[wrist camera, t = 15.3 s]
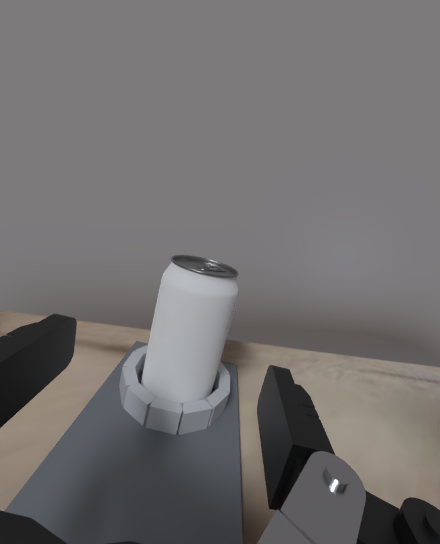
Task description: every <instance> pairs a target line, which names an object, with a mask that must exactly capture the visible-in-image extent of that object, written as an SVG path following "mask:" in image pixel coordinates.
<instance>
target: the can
mask: <svg viewBox="0 0 440 544" xmlns="http://www.w3.org/2000/svg"><path fill="white" fill-rule="evenodd" d="M171 261H172V262H171V264H170V265H169V267H168V268H167V269H166V271H165V272H164V274H163V276H162V280H161V284H160V289H159V293H158V299H157V303H156V308H155V313H154V319H153V323H152V328H151V333H150V338H149V343H148V348H147V353H146V359H145V364H144V369H143V374H142V380H141V385H142V386H143V387H145V388H146V389H147V390H148V391H150V392H151V393H152V394H153V395H155V396H156V397H159V398H163V399H167V400H171V401H175V402H179V403H186V402H192V401H197V400H203V399H206V398H207V397H209V396H210V395H211V391H212V388H213V385H214V381H215V378H216V374H217V370H218V367H219V363H220V360H221V356H222V352H223V349H224V345H225V341H226V338H227V334H228V330H229V326H230V323H231V319H232V316H233V312H234V308H235V304H236V300H237V296H238V286H237V281H236V277H237V276H238V271H237V270H235V269H234V268H232V267H230V266H228V265H226V264H223V263H220V262H216V261H213V260H210V259H206V258H201V257H195V256H189V255H175V256H172V257H171Z"/></svg>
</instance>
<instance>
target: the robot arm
mask: <svg viewBox="0 0 440 544" xmlns="http://www.w3.org/2000/svg"><path fill="white" fill-rule="evenodd" d="M76 325H77V322H76V319H75V318H71V317H67V316H63V315H59V314H53V315H51V316H49V317H47V318H45V319H43V320H42V321H40V322H38V323H37V322H36V323H33V324H29V325H25V326H22V327H19V328H17V329H15V330H13V331H11V332H10V333H8V334H7V335H6V336H2V337H0V428H1V427H2V426H3V425H4V424H5V423H6V422H7V421H8V420H10V419H11V418H12V417H13V416H14V415H15V414H16V413H17V412H18V411H19V410H21V409H22V408H23V407H24V406H25V405H26V404H27V403H28V402H29V401H30V400H31V399H33V398H34V397H35V396H36V395H37V394H38V393H39V392H40V391H41V390H42V389H44V388H45V387H46V386H47V385H48V384H49V383H50V382H51V381H52V380H53V379H54V378H56V377H57V376H58V375H59V374H60V373H61V372H62V371H63V370H64V369H65V368H66V367H67V366H68V365H69V363H70V361H71V359H72V357H73V353H74V345H75V335H76ZM257 416H258V424H259V432H260V440H261V448H262V456H263V464H264V472H265V480H266V488H267V496H268V504H269V509H273V510H276V512H275V514H274V515H273V517H272V519H271V520H270V522H269V524H268V526H267V527H266V529H265V531H264V532H263V534H262V536H261V538H260V539H259V541H258V543H257V544H440V510H439V509H437V508H436V507H434V506H433V505H431V504H429V503H427V502H425V501H423V500H421V499H418V498H407V499H405V500H404V502H403V504H402V506H401V508H400V509H398V508H397V507H395V506H393V505H391V504H389V503H387V502H385V501H384V500H382V499H380V498H378V497H376V496H374V495H372V494H371V493H369V492H367V491H366V490H365V488H364V486H363V483H362V481H361V480H360V478H359V476H358V475H357V474H356V472H355V471H354V470H353V469H352V468H351V467H350V466H349V465H348V464H347V463H346V462H345V461H343V460H342V459H340V458H339V457H337V456H335V453H334V451H333V449H332V446H331V444H330V442H329V439H328V437H327V435H326V432H325V430H324V428H323V425H322V423H321V421H320V419H319V416H318V414H317V411H316V410H315V407H314V404H313V402H312V400H311V397H310V396H309V394H308V393H307V392H306V391H305V390H304V389H303V387H302V386H301V385H297V384H295V383H294V380H293V378H292V375H291V372H290V370H289V369H286V368H281V367H277V366H273V365H270V366H269V367H268V370H267V373H266V376H265V379H264V383H263V386H262V389H261V392H260V395H259V399H258V406H257ZM0 544H67V543H66V542H64V541H63V540H62V539H60V538H59V537H57V536H56V535H55V534H53V533H52V532H50V531H49V530H48V529H46V528H45V527H43V526H42V525H41V524H39V523H38V522H36V521H35V520H34V519H32V518H30V517H25V516H21V515H17V514H13V513H8V512H4V511H0ZM107 544H141V543H137V542H132V541H125V542H116V543H107Z"/></svg>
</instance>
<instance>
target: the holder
mask: <svg viewBox="0 0 440 544" xmlns="http://www.w3.org/2000/svg"><path fill="white" fill-rule="evenodd" d="M147 348H148V344H147V343H143V342H139V341H136V342H135V344H134V345H133V346H132V347H131V349H130V350H129V351H128V353H127V354H126V355H125V356H124V358H123V359H122V360H121V362H120V363H119V364H118V365H117V367H116V368H115V369H114V371H113V372H112V373H111V375H110V376H109V377H108V378H107V380H106V381H105V382H104V384H103V385H102V386H101V387H100V389H99V390H98V391H97V393H96V394H95V395H94V396H93V398H92V399H91V400H90V402H89V403H88V404H87V405H86V407H85V408H84V409H83V411H82V412H81V413H80V414H79V416H78V417H77V418H76V420H75V421H74V422H73V423H72V425H71V426H70V427H69V429H68V430H67V431H66V432H65V434H64V435H63V436H62V438H61V439H60V440H59V441H58V443H57V444H56V445H55V447H54V448H53V449H52V451H51V452H50V453H49V454H48V456H47V457H46V458H45V460H44V461H43V462H42V463H41V465H40V466H39V467H38V469H37V470H36V471H35V472H34V474H33V475H32V476H31V478H30V479H29V480H28V481H27V483H26V484H25V485H24V487H23V488H22V489H21V490H20V492H19V493H18V494H17V496H16V497H15V498H14V499H13V501H12V502H11V503H10V505H9V506H8V507H7V508H6V510H5V511H4V512H8V513H13V514H17V515H21V516H25V517H30V518H32V519H34V520H35V521H36V522H38V523H39V524H41V525H42V526H43V527H45V528H46V529H48V530H49V531H50V532H52V533H53V534H55V535H56V536H57V537H59V538H60V539H62V540H63V541H64V542H66V543H67V544H107V543H116V542H125V541H132V542H137V543H141V544H243V534H242V504H241V475H240V445H239V416H238V386H237V366H236V365H232V364H228V363H224V362H221V361H220V363H219V367H218V370H217V374H216V378H215V381H214V385H213V388H212V391H211V395H210V396H209V397H207V398H206V399H203V400H197V401H192V402H186V403H179V402H175V401H171V400H167V399H163V398H159V397H156V396H155V395H153V394H152V393H151V392H150V391H148V390H147V389H146V388H145V387H143V386H142V385H141V380H142V374H143V369H144V364H145V359H146V353H147Z"/></svg>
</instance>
